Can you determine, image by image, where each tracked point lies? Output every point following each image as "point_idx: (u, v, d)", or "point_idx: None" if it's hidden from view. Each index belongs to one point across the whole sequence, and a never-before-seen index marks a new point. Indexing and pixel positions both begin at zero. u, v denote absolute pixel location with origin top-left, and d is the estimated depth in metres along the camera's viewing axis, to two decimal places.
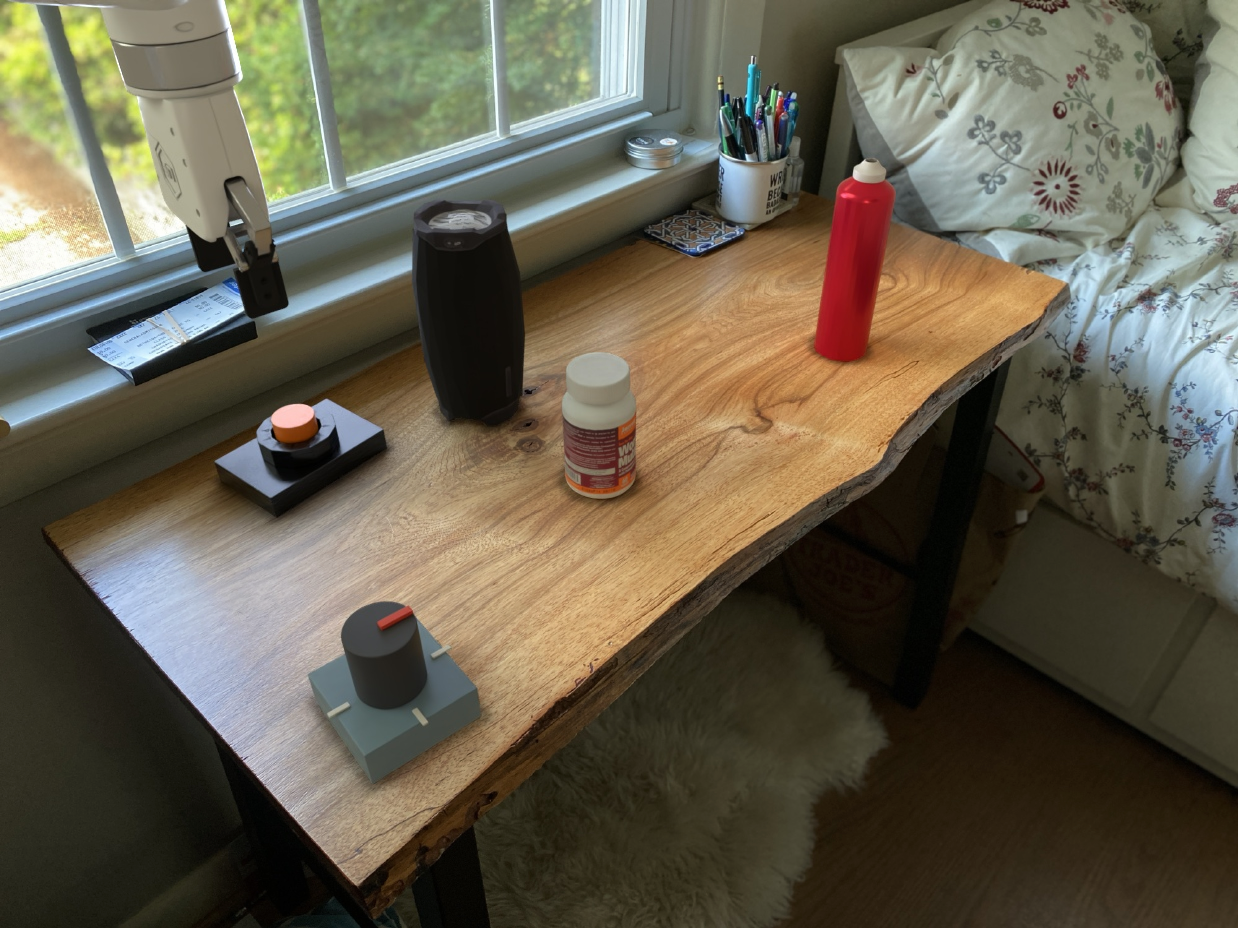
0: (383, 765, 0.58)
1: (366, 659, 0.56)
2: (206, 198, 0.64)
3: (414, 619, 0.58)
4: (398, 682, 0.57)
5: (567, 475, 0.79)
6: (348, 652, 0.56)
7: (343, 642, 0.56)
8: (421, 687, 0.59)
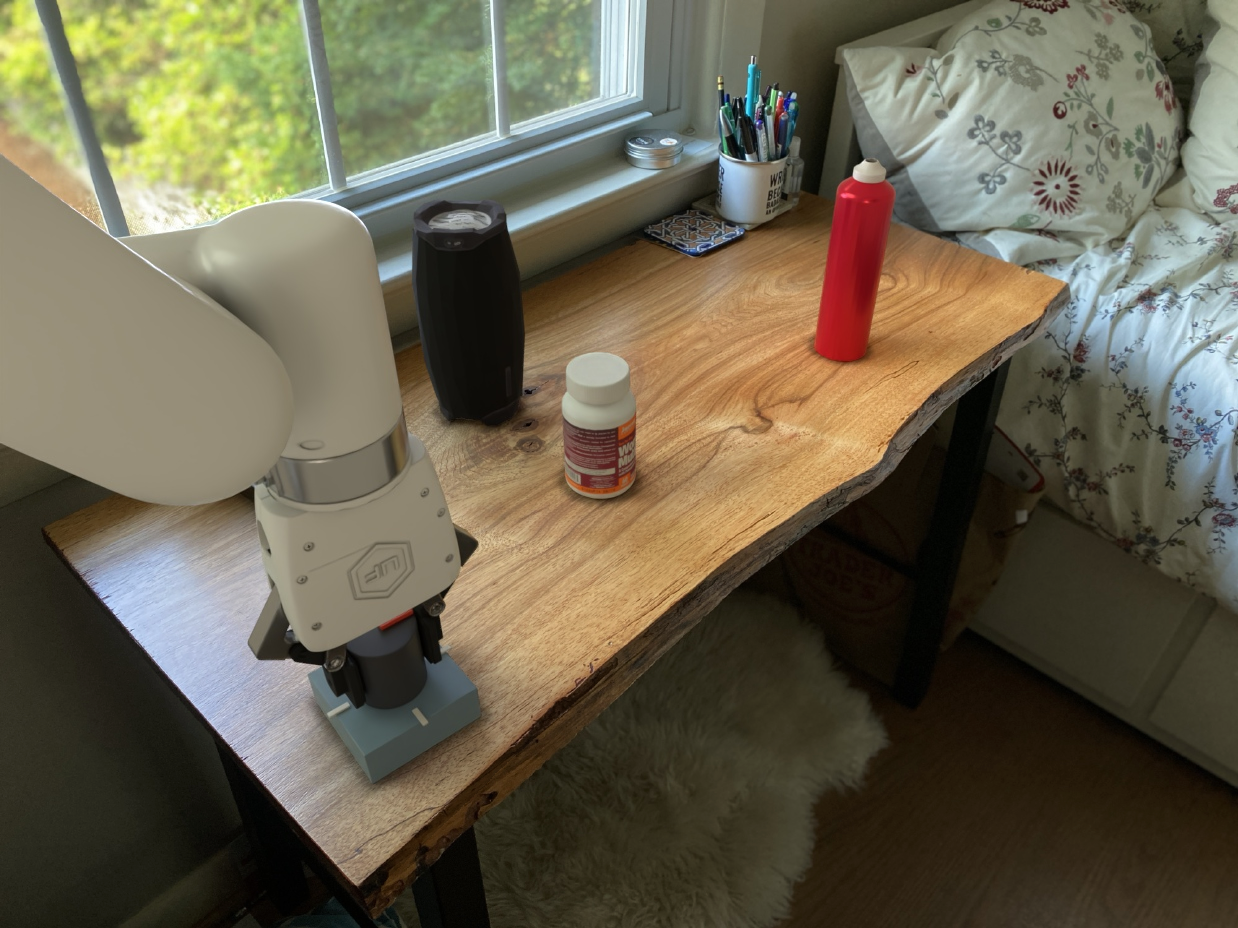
0: (383, 765, 0.58)
1: (366, 659, 0.56)
2: (454, 531, 0.54)
3: (414, 619, 0.58)
4: (398, 682, 0.57)
5: (567, 475, 0.79)
6: (348, 652, 0.56)
7: None
8: (421, 687, 0.59)
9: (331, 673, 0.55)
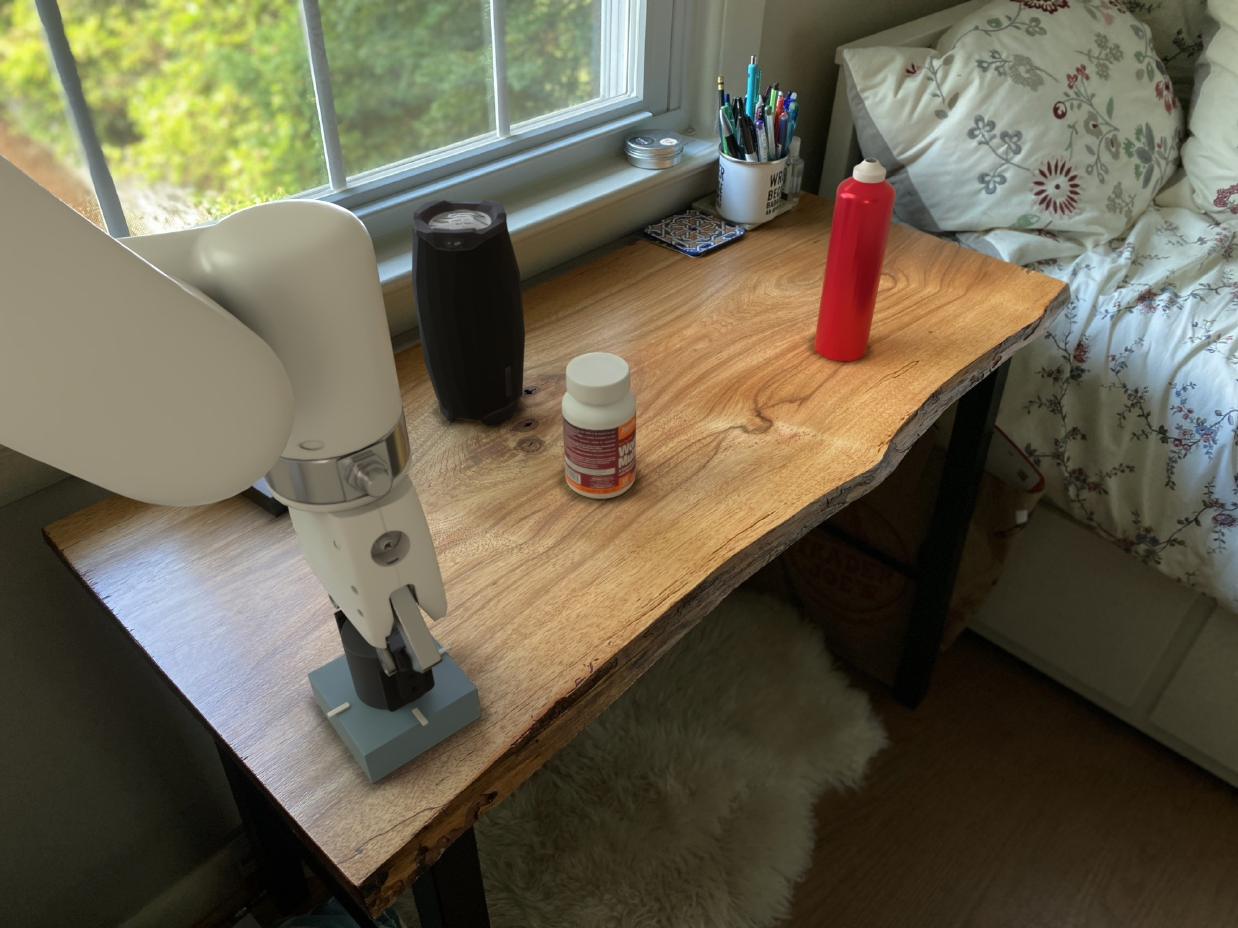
0: (383, 765, 0.58)
1: None
2: None
3: None
4: None
5: (567, 475, 0.79)
6: None
7: None
8: None
9: None
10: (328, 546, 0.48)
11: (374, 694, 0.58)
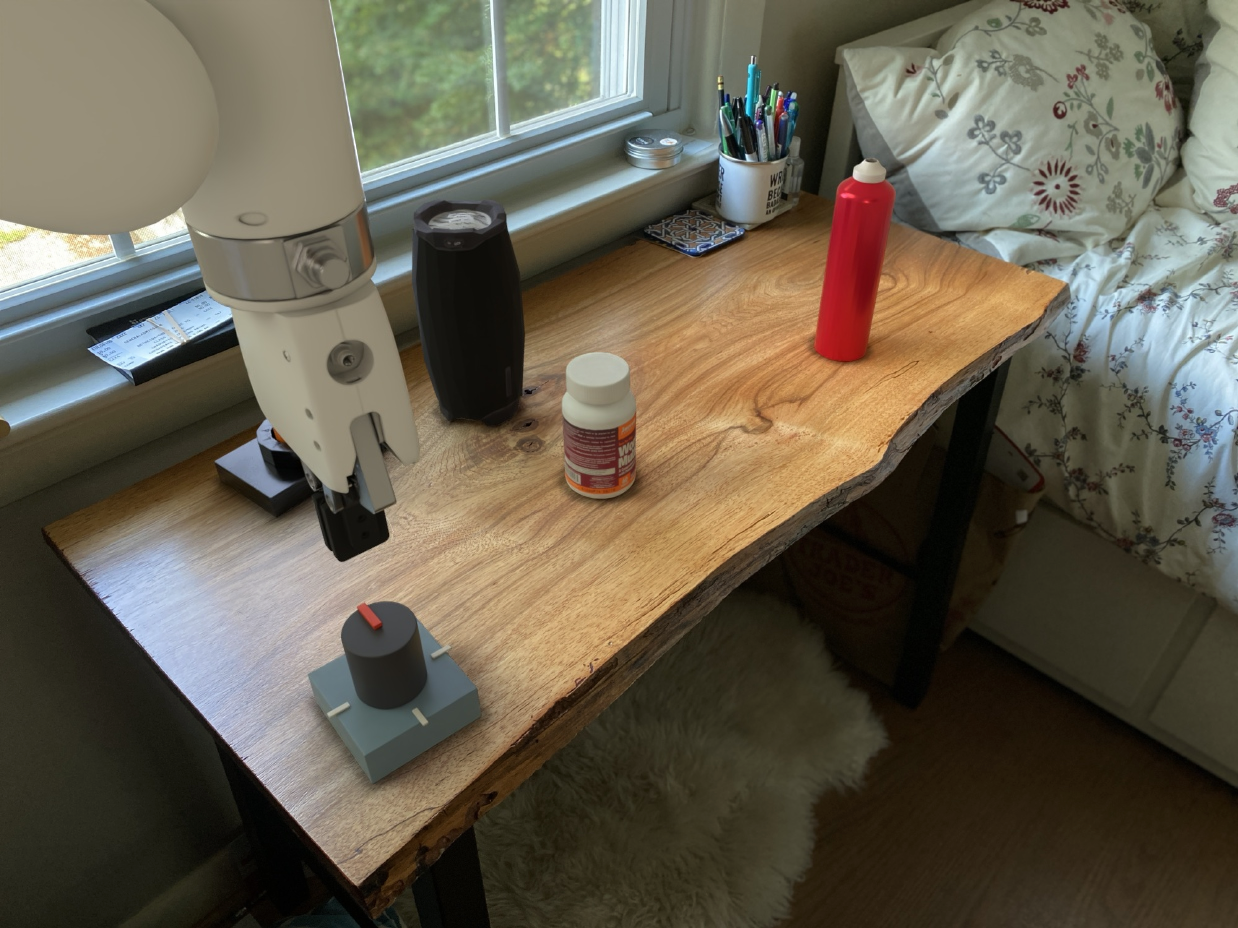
0: (383, 765, 0.58)
1: (415, 634, 0.57)
2: None
3: (373, 603, 0.59)
4: None
5: (567, 475, 0.79)
6: (403, 649, 0.56)
7: (391, 652, 0.56)
8: None
9: None
10: (278, 361, 0.41)
11: (374, 694, 0.58)
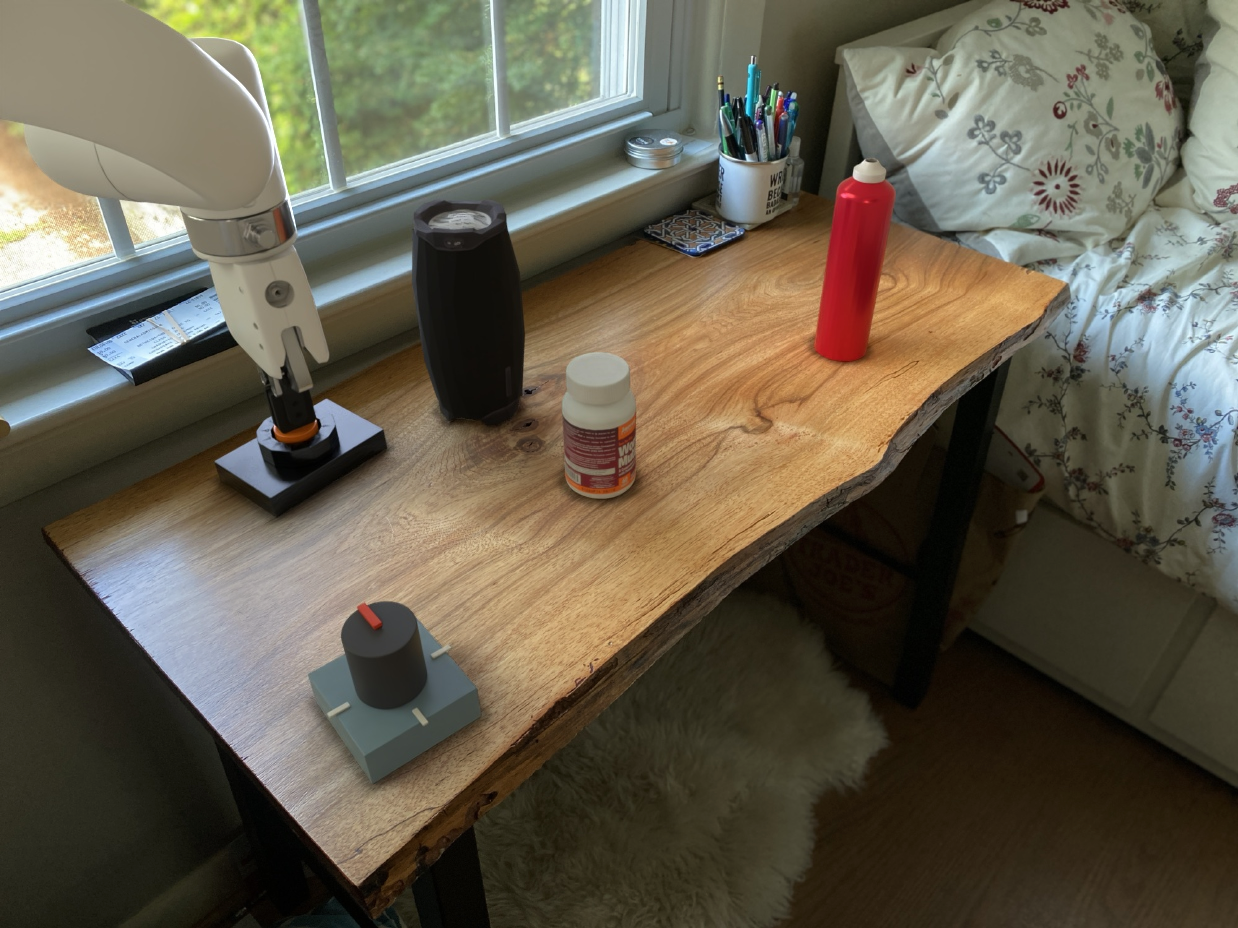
0: (383, 765, 0.58)
1: (415, 634, 0.57)
2: None
3: (373, 603, 0.59)
4: None
5: (567, 475, 0.79)
6: (403, 649, 0.56)
7: (391, 652, 0.56)
8: None
9: (303, 395, 0.78)
10: (236, 294, 0.69)
11: (374, 694, 0.58)
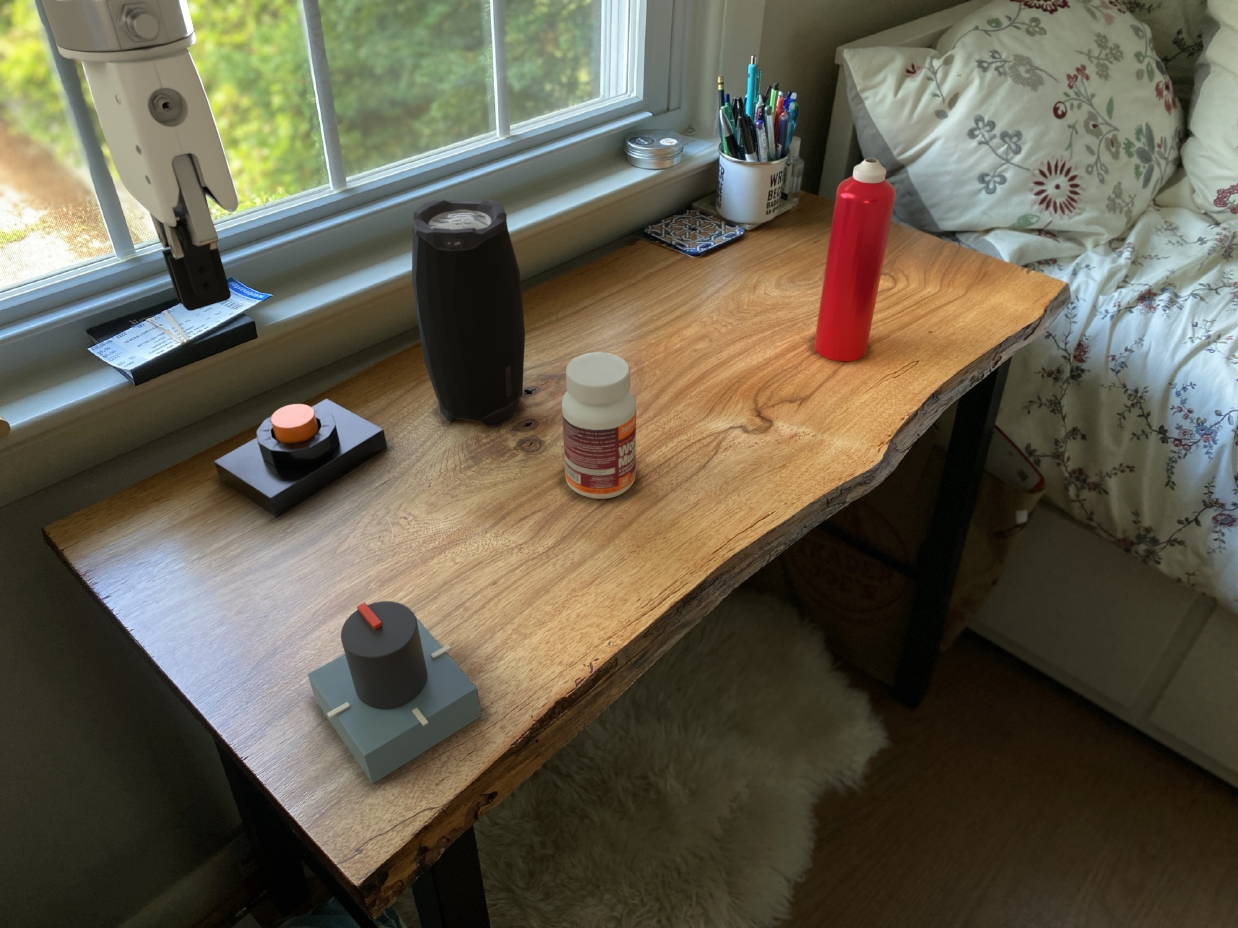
0: (383, 765, 0.58)
1: (415, 634, 0.57)
2: None
3: (373, 603, 0.59)
4: None
5: (567, 475, 0.79)
6: (403, 649, 0.56)
7: (391, 652, 0.56)
8: None
9: (211, 261, 0.63)
10: (114, 108, 0.54)
11: (374, 694, 0.58)
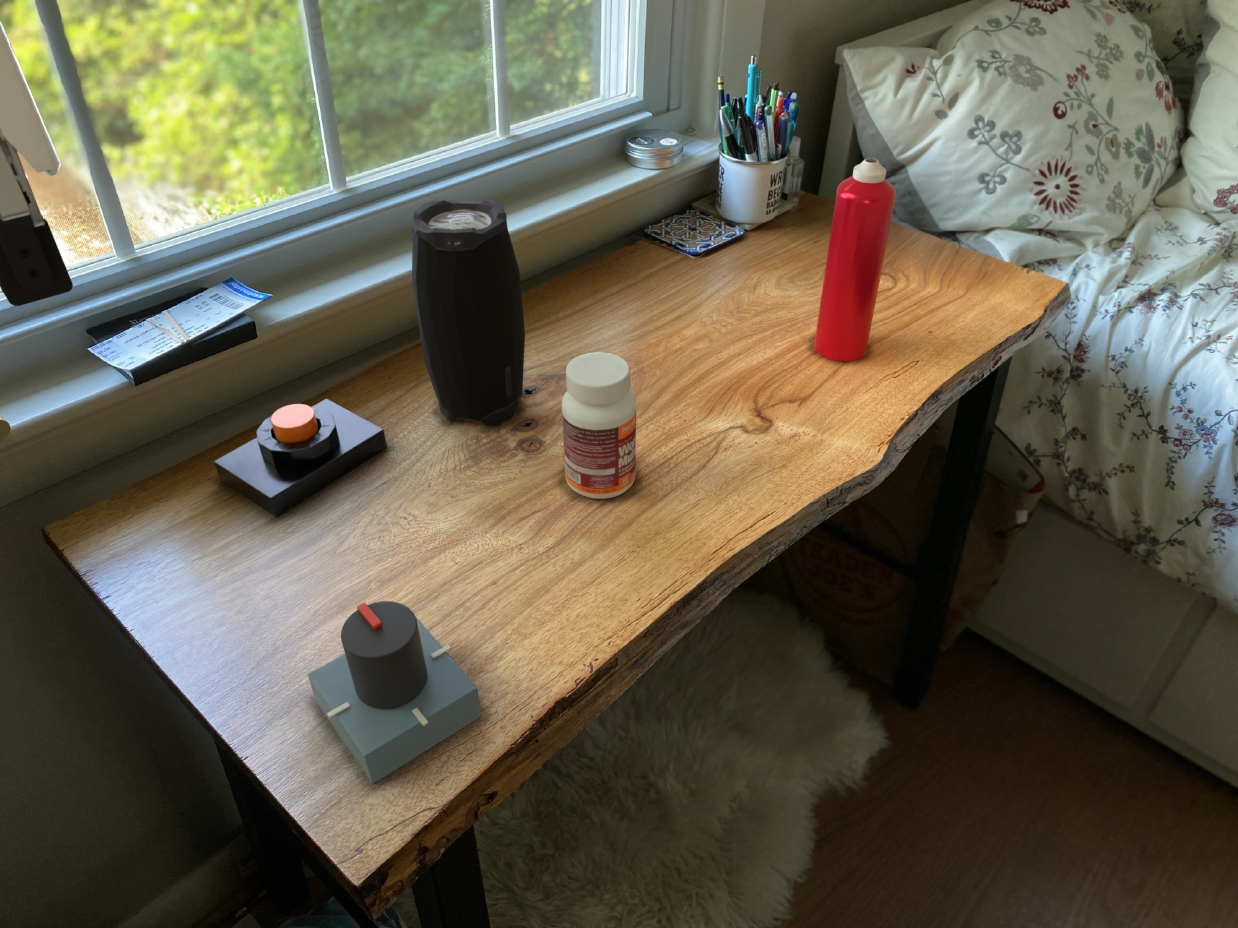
0: (383, 765, 0.58)
1: (415, 634, 0.57)
2: None
3: (373, 603, 0.59)
4: None
5: (567, 475, 0.79)
6: (403, 649, 0.56)
7: (391, 652, 0.56)
8: None
9: (38, 241, 0.49)
10: None
11: (374, 694, 0.58)
